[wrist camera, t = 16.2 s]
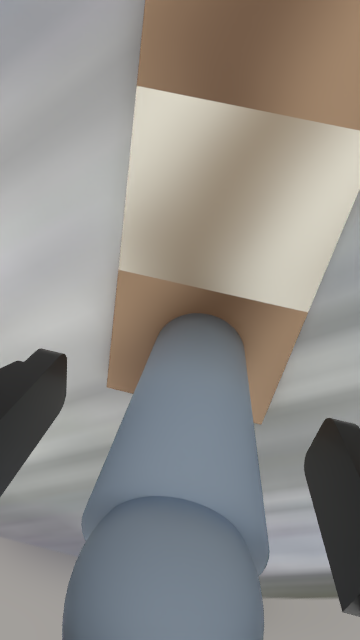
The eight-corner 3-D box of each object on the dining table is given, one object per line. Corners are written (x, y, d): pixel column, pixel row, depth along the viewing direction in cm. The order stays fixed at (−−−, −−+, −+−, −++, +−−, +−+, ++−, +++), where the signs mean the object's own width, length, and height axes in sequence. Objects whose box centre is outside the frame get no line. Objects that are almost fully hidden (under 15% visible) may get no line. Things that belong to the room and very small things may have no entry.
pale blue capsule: (258, 329, 11) (366, 778, 3) (226, 400, 13) (233, 825, 4) (166, 301, 11) (-4, 665, 3) (146, 376, 13) (-3, 753, 4)
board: (758, -808, 4) (838, -957, 3) (259, 414, 14) (261, 424, 13) (241, -847, 4) (244, -995, 4) (111, 379, 14) (106, 387, 13)
